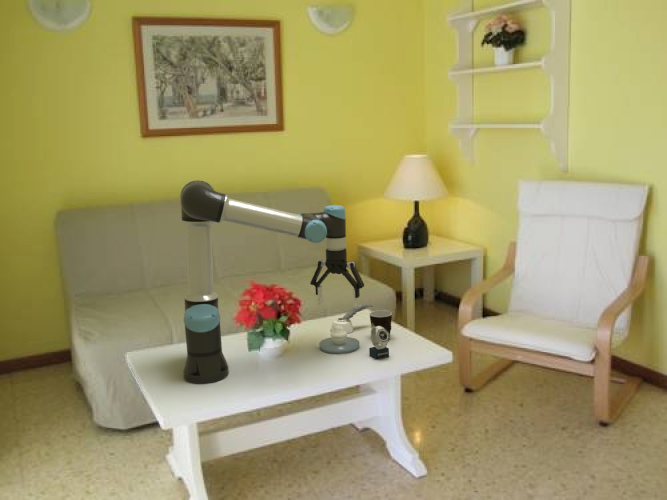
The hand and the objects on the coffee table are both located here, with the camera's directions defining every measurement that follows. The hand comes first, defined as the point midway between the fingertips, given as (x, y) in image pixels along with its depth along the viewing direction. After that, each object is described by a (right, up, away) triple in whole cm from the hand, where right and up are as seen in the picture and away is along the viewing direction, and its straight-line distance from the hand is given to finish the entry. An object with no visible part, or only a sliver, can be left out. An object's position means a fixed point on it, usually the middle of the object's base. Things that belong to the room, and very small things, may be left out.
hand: (337, 304), depth 256 cm
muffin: (+1, -15, +3) cm, 15 cm away
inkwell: (+6, -12, +23) cm, 27 cm away
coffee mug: (+17, -14, +10) cm, 24 cm away
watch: (+15, -18, -7) cm, 24 cm away
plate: (+1, -16, +3) cm, 16 cm away
